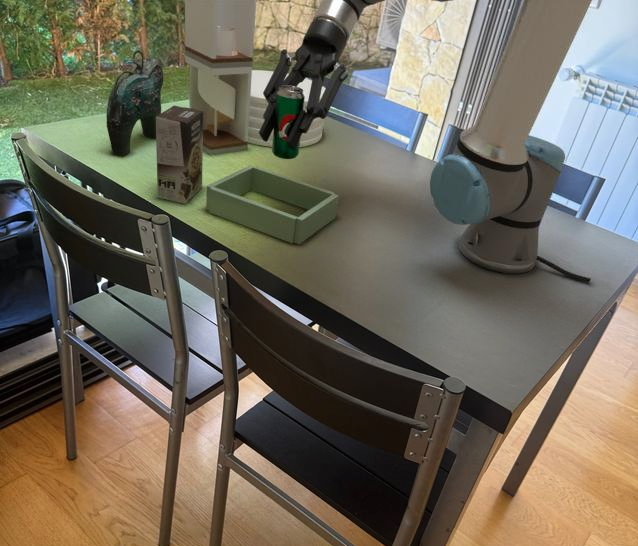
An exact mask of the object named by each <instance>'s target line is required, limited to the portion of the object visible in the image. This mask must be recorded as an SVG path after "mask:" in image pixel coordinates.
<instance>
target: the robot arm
mask: <svg viewBox="0 0 638 546" xmlns="http://www.w3.org/2000/svg"><path fill="white" fill-rule="evenodd" d="M384 1H385V2H386V0H321V2H320V3H319V5H318V8H317V10H315V14H314V16H313V18H312V21H311V22H310V24H309V26H308V28H307V30H306V32H305V34H304V36H303V39H302V43H301V45H300V46H299V47H298V48H297V49H295V51H290V52H288V50H287V49H286V48H284V49H282V50H281V51H280V56H279V61H278V63H277V65H276V67H275V68H274V71H273V74H272V76H271V78H270V80H269V82H268V84H267V86H266V88H265V90H264V92H263V95H264V97H265V99H266V100H267V102H268V103H269V104H268V106H267V108H266V110H265V112H264V115H263V118H264V120H265V121H264V123H263V125H262V127H261V129H260V131H259V134H260V136H261V138H262V139H263V141H265V142H267V141H268V139H269V137H270V135H271V133H272V131H273V129H274V118H275V105H276V93H277V92H278V90H279V87H280V86H284V85H289V86H296V87H297V85H298V84H299V83H300V82H303V81H304V79H305V78H306V79H310V80H312V84H311V89H310V94H309V99H308V104H307V107H306V106H305V107H306V110H307V112H306V111H305V110H301V112H300V114H299V116H298V118H297V120H296V122H295V124H294V126H293V128H292V130H291V132H290V134H289V136H288V139H287V141H286V142H287V144H288V145H289V147H290V149H291V150H294V149H295V147H296V145H297V143H298V141H299V139H300V137H301V135H302V133H305V134H306V133H307V132H308V130H309V128H310V126H311V124H312V121H313V120H314V119H315V118H319V117H320V118H321V119H324V120H325V119H326V118H327V116H328V114H329V111H330V109H331V107H332V104H333V102H334V100H335V98H336V96H337V94H338V92H339V89H340V87H341V86H342V84H343V83H344V82H345V81H346V80H347V78H348V77H349V74H348V70H347V66H346V64H344V63H341V64H340V63H339V60H340V59H341V57H342V55H343V53H344V51H345V49H346V47H347V43H348V42H349V40H350V38H351V37H352V35H353V32H354V31H355V28H356V26H357V23H358V22H359V20H360V18H361V15H362V13H363V11H364V10H365V8H367V7H369V6H373V5H376V4H378V3H382V2H384ZM432 1H433V2H434V1H435V2H440V3H444V2H450V1H453V0H432ZM592 2H593V0H523V2H522V5H521V8H520V10H519V13H518V15H517V17H516V20H515V22H514V25H513V28H512V30H511V33H510V34H509V37H508V40H507V42H506V45H505V47H504V50H503V53H502V55H501V57H500V60H499V61H498V64H497V68H496V70H495V72H494V75H493V78H492V80H491V82H490V85H489V87H488V90H487V93H486V95H485V98H484V100H483V103H482V105H481V107H480V110H479V112H478V115H477V117H476V120H475V123H474V124H473V125H472V126H470V127H468V128H466V129H464V130H462V131H461V132H460V135H459V137H458V139H457V143H456V145H455V147H454V149H453V153H452V154H450V153H449V154H447V155H446V156H444V157H443V158H441V159H440V160H439V161H437V163H436V164H435V165H434V167H433V169H432V171H431V174H430V178H429V190H430V196H431V198H432V199H433V204H434V206H435V208H436V210H437V211H438V213H439V214H440V215H441V216H442V218H444V219H445V220H446V221H448V222H450V223H452V224H455V225H459V226H466V225H467V227H466V229H465V230H464V231H463V233H462V234H461V237H460V240H459V244H458V249H459V251H460V253H461V254H462V255H463V257H465V258H466V259H467V260H468V261H470V262H472V263H474V264H475V265H477V266H479V267H481V268H484V269H487V270H489V271H493V272H496V273H497V272H498V273H503V274H513V275H515V274H523V273H527V272H529V271H531V270H533V268H534V267H535V265H536V262H537V261H538V262H540V263H542V264H543V265H545V266H548V267H550V268H551V269H553V270H554V271H556V272H558V273H560V274H562V275H564V276H565V277H569V278H571V279H574V280H578V281H580V282H581V281H582V282H585V283H588V284H589V283H590V282H591V280H592V279H591V278H590V277H586V276H583V275H580V274H576V273H572V272H570V271H568V270H565V269H564V268H562V267H560V266H559V265H556V264H555V263H554V262H552V261H549V260H547V259H545V258H544V257H542V256H539V231H540V225H541V223H542V221H543V218H544V216H545V213H546V210H547V208H548V206H549V203H550V201H551V198H552V195H553V192H554V190H555V187H556V184H557V182H558V180H559V177H560V175H561V174H562V172H563V166H564V163H565V159H566V153H565V151H564V150H563V149H562V147H560V146H558V145H557V144H554V143H552V142H550V141H547V140H545V139H542V138H539V137H537V136H534V135H530V133H531V131H532V130H533V127H534V125H535V123H536V120H537V118H538V116H539V114H540V112H541V110H542V108H543V106H544V104H545V101H546V99H547V97H548V95H549V93H550V90H551V89H552V87H553V84H554V82H555V81H556V78H557V76H558V74H559V72H560V69H561V67H562V66H563V63H564V61H565V59H566V57H567V55H568V53H569V50H570V48H571V46H572V44H573V43H574V40H575V38H576V36H577V34H578V31H579V29H580V27H581V25H582V23H583V21H584V18H585V16H586V14H587V12H588V10H589V8H590V6H591V4H592ZM294 62H295V63H294ZM293 63H294V65H293ZM290 68H291V71H290ZM289 71H290V72H289ZM331 73H332V74H331ZM287 74H289V75H288V76H287V77H286V75H287ZM329 74H331V76H330V78H329V80H328V82H327V84H326V87H325V88H326V89H325V91H324V93H323V95H322V98H321V100H320V95H321V90H322V87H324V85H325V79H326V76H328V75H329ZM285 77H286V79H285ZM284 79H285V80H284ZM319 100H320V102H319Z"/></svg>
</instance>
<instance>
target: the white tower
mask: <svg viewBox="0 0 638 546" xmlns="http://www.w3.org/2000/svg"><path fill="white" fill-rule="evenodd" d="M256 10H257V0H184V62H185V63H187V64H189V84H188V85H189V87H188V88H189V90H188V91H189V93H188V94H189V97H188V98H189V99H188V101H189V102H188V103H189V107H188V108H192V109H197V110H202V111H204V112H203V152H204V153H206V154H208V155H209V156H212V155H219V154H220V155H221V154H227V153H235V152H241V151H247V150H248V126H249V110H250V94H251V78H252V70H253V61H254V60H253V59H254V45H255V29H256V27H255V26H256V12H257V11H256Z"/></svg>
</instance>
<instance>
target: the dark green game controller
mask: <svg viewBox="0 0 638 546" xmlns="http://www.w3.org/2000/svg"><path fill="white" fill-rule="evenodd" d="M138 53H139V54H140V57H141V61H134V59H135V57H136V55H137V54H138ZM132 59H133V63H134V64H135V66H134V69H133V71H130V70H125V71H122V72H121V73H119V74H118V76H116V77H115V80H114V84H113V86H112V88H111V89H110V93H109V96H108V101H107V108H106V114H105V115H106V116H105V117H106V129H107V134H108V139H109V142H110V149H111V153H112V155H114V156H119V157H125V156H127V155H129V154H130V153H131V141H132V134H133V131H134V128H135V125H136V124H137V122H138V121H140V125H141V132H142V135H143V137H145V138H148V139H153V140H156V116H158V115H159V114H161V113H162V99H161V98H162V97H161V96H162V95H161V94H162V92H161V91H162V87H163V84H164V72H163V67H162V66H161V65H160V64H159V63H156V62H154V61H153V60H152V59H151V57H150V55H149V54H146V59H144V54H143V52H142V51H141V50H138V49H136V50H134V51H132Z"/></svg>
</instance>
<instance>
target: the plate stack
mask: <svg viewBox="0 0 638 546" xmlns="http://www.w3.org/2000/svg"><path fill="white" fill-rule="evenodd" d="M273 72H274V71H272V70H264V69H263V70H262V69H261V70H260V69H252V78H251V94H250V110H249V126H248V143H249V144H252V145H257V146H263V147H270V148H272V144H273V131H274V129H273V131H272V133H271V135H270V137H269V139H268V141H267V142H265V141H263V139H262V138H261V136H260V134H259V131H260V129H261V127H262V125H263V123H264V121H265V120H264V118H263V115H264V112H265V110H266V108H267V106H268V104H269V103H268V102H267V100H266V99H265V97H264V95H263V92H264V90H265V88H266V86H267V84H268V82H269V80H270V78H271V76H272V74H273ZM289 74H290V73H287V75H286V77H287V76H288V75H289ZM286 77H285V79H286ZM285 79H284V80H285ZM311 84H312V79H310V78H305V79H304V81H303V82H300V83H299V84H298V85H297V87H299V88H301V89H303V94H304V96H305V99H304V108H303V110H305V111H306V112H307V110H306V107H307V104H308V99H309V94H310V89H311ZM325 89H326V87H325V86H323V87H322V90H321V95H320V100H321V98H322V95H323V93H324V91H325ZM320 100H319V102H320ZM305 106H306V107H305ZM324 120H325V118H324V119H321V118H320V117H319V118H315V119H314V120H313V121H312V124H311V126H310V128H309V130H308V132H307V133H306V134H305V133H302V135H301V137H300V146H299V148H303V147H308V146H313V145H315V144H316V143H318V142H319V141H321V140H322V136H323V129H324V125H325V122H324ZM248 143H247V144H248Z"/></svg>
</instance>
